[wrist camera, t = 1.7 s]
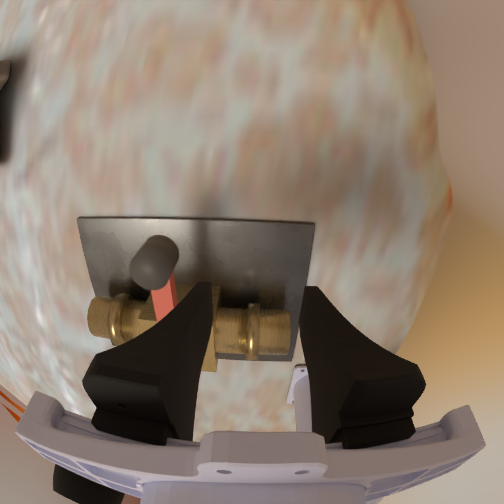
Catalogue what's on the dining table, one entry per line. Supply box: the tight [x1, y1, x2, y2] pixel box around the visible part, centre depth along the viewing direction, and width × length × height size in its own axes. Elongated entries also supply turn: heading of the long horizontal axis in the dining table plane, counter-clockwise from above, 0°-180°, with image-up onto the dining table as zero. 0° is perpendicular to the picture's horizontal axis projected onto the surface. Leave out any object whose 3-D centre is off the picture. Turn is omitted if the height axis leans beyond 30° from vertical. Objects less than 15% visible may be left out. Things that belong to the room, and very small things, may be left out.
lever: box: [129, 235, 179, 323], centre depth 18 cm, size 12×3×2 cm, turn 178°
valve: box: [77, 217, 315, 372], centre depth 24 cm, size 21×16×6 cm
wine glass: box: [53, 464, 125, 504], centre depth 28 cm, size 10×10×20 cm
